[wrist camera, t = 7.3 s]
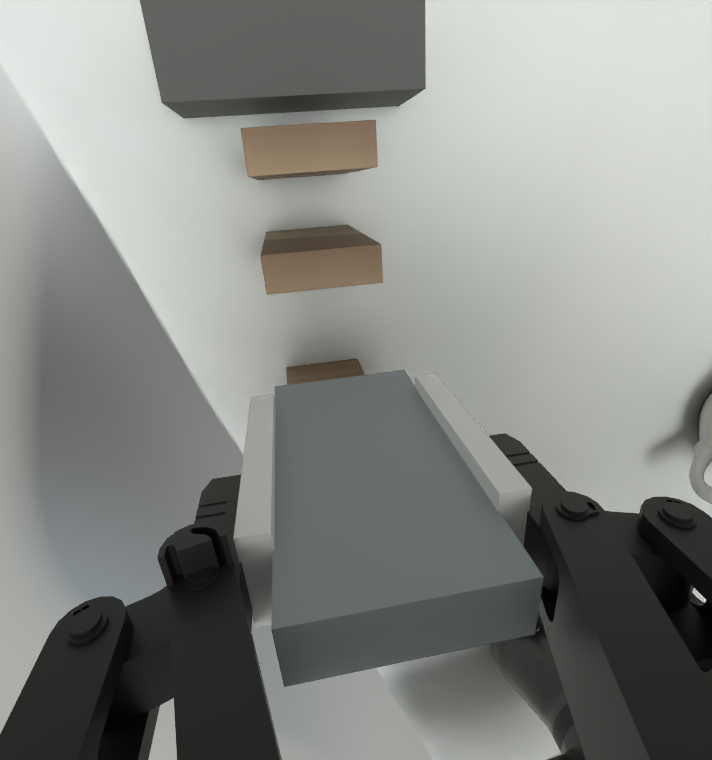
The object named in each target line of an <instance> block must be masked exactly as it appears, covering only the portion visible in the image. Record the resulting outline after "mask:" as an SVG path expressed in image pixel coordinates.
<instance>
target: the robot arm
mask: <svg viewBox="0 0 712 760" xmlns="http://www.w3.org/2000/svg"><path fill="white" fill-rule="evenodd" d="M415 388H416V390H417V391H418V393H419V394H420V396H421V397H422V399H423V400H424V402H425V403H426V405H427V406H428V408H429V409H430V411H431V412H432V414H433V415H434V417H435V418H436V420H437V421H438V423H439V424H440V426H441V427H442V429H443V430H444V432H445V433H446V435H447V436H448V438H449V439H450V441H451V442H452V444H453V445H454V447H455V448H456V450H457V451H458V453H459V454H460V456H461V457H462V459H463V460H464V462H465V463H466V465H467V466H468V468H469V469H470V471H471V472H472V474H473V475H474V477H475V478H476V480H477V481H478V483H479V484H480V485H481V487H482V488H483V490H484V491H485V493H486V494H487V496H488V497H489V499H490V500H491V502H492V503H493V505H494V506H495V508H496V509H497V511H498V512H500V513H501V514H502V516H503V517H504V519H505V520H506V522H507V523H508V525H509V526H510V528H511V529H512V531H513V532H514V534H515V535H516V537H517V538H518V540H519V541H520V542H521V544H522V545H523V547H524V548H525V550H526V551H527V553H528V554H529V556H530V557H531V559H532V560H533V562H534V563H535V565H536V566H537V568H538V569H539V571H540V572H541V574H542V575H543V577H544V578H543V585H542V591H541V598H540V604H539V611H538V617H537V624H536V631H535V634H534V635H529V636H524V637H520V638H515V639H510V640H505V641H501V642H496V643H491V644H492V651H493V654H494V656H495V658H496V660H497V662H498V664H499V667H500V669H501V671H502V673H503V674H504V676H505V678H506V679H507V680H508V682H509V683H510V684H511V685H512V686H513V687H514V689H515V690H516V691H517V692H518V693H519V694H520V696H521V697H522V698H523V699H524V700H525V701H526V703H527V704H528V705H529V706H530V707H531V708H532V710H533V711H534V712H535V713H536V714H537V715H538V716H539V718H540V719H541V720H542V721H543V722H544V723H545V725H546V726H547V727H548V728H549V730H550V732H551V733H552V735H553V737H554V739H555V741H556V743H557V745H558V747H559V749H560V751H561V753H562V755H559V756H557V757H554V758H551V759H548V760H712V518H711V517H710V516H709V515H707V514H706V513H705V512H704V511H702V510H700V509H699V508H697V507H695V506H694V505H692V504H690V503H687V502H684V501H682V500H679V499H675V498H669V497H652V498H650V499H647V500H645V501H644V503H643V504H642V506H641V509H640V513H639V514H637V513H622V512H610V511H604V510H603V508H602V507H601V506H600V505H599V504H598V503H597V502H595V501H594V500H592V499H590V498H589V497H587V496H584V495H581V494H578V493H576V492H567V491H566V490H565V489H564V488H563V487H562V486H561V485H560V484H559V483H558V482H557V481H556V479H555V478H554V477H553V476H552V475H551V474H550V473H549V472H548V471H547V470H546V469H545V468H544V467H543V466H542V465H541V463H538V460H537V459H536V458H535V457H534V456H533V455H532V454H530V452H529V451H528V450H527V449H526V447H525V446H524V445H523V444H522V443H521V442H520V441H518V440H516V439H514V438H512V437H511V436H509V435H507V434H505V433H504V434H498V435H491V436H488V435H487V434H486V432H485V431H484V430H483V429H482V428H481V426H480V425H479V424H478V423H477V422H476V420H475V419H474V418H473V417H472V416H471V414H470V413H469V412H468V411H467V410H466V408H465V407H464V406H463V405H462V404H461V402H460V401H459V400H458V399H457V398H456V396H455V395H454V394H453V393H452V392H451V390H450V389H449V388H448V387H447V386H446V384H445V383H444V382H443V381H442V380H441V378H440V377H439V376H438V375H437V374H436V373H432V374H424V375H416V376H415ZM275 415H276V407H275V401H274V395H265V396H257V397H251V400H250V408H249V416H248V424H247V433H246V441H245V449H244V457H243V465H242V473H241V475H236V476H229V477H223V478H217V479H212V480H211V482H210V483H209V484H208V485H207V486H206V488H205V489H204V490H203V491H202V493H201V498H200V501H199V508H198V510H197V514H196V520H195V522H194V524H192V525H189V526H187V527H184V528H182V529H180V530H178V531H177V532H175V533H174V534H173V535H171V536H170V537H169V538H167V540H166V541H165V542H164V543H163V545H162V546H161V547H160V550H159V554H158V561H159V564H160V567H161V570H162V572H163V575H164V578H165V581H166V584H167V586H166V587H164V588H163V589H162V590H160V591H158V592H157V593H155V594H153V595H151V596H149V597H147V598H144V599H142V600H140V601H137V602H135V603H133V604H130V605H128V606H126V607H125V606H124V604H123V602H122V600H120V599H117V598H115V597H98V598H95V599H92V600H89V601H86V602H84V603H82V604H80V605H79V606H77V607H75V608H74V609H72V610H71V611H69V612H68V613H67V614H66V615H65V616H64V617H63V618H62V619H61V620H59V621H58V623H57V624H56V626H55V627H54V629H53V630H52V632H51V633H50V635H49V637H48V639H47V641H46V643H45V645H44V647H43V649H42V651H41V653H40V655H39V657H38V659H37V661H36V663H35V665H34V667H33V669H32V671H31V673H30V675H29V677H28V679H27V681H26V683H25V685H24V687H23V689H22V691H21V694H20V696H19V697H18V700H17V701H16V704H15V706H14V708H13V710H12V712H11V714H10V716H9V718H8V720H7V722H6V724H5V726H4V728H3V730H2V732H1V734H0V760H148V758H149V754H150V749H151V744H152V739H153V735H154V730H155V726H156V721H157V716H158V712H159V707H160V705H161V704H163V703H165V702H167V701H169V700H170V699H172V698H174V708H175V727H176V744H177V745H176V746H177V760H282V759H281V755H280V750H279V747H278V742H277V738H276V734H275V729H274V725H273V721H272V717H271V713H270V709H269V704H268V700H267V696H266V692H265V688H264V683H263V679H262V675H261V671H260V666H259V663H258V658H257V654H256V650H255V645H254V642H253V638H252V634H251V628H252V617H253V620H254V625H255V628H259V627H264V626H270V625H272V558H273V551H274V542H275ZM693 588H695V589H696V590H697V591H698V592H699V593H700V594H701V595H702V596H703V597H704V598H705V599H706V603H704V602H702V601H701V600H699V599H698V598H697V597H696V596H695V595H694V594H693V593H692V591H693Z"/></svg>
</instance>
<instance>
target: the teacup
mask: <svg viewBox="0 0 712 760" xmlns="http://www.w3.org/2000/svg"><path fill="white" fill-rule="evenodd" d="M699 425H700V429H699V437H700V441H699V442H698V443H696V445H695V453H696V456H695V458H694V460H693V462H692V465H691V469H690V474H689V477H690V483H691V486H692V488H693V490H694V491H695V493H696V494H697V495H698V496H699V497H701V498H702V499H703V500H705V501H707V502H709V503H711V504H712V487H710V486H709V485H707V484H706V483H705V481H704V472H705V470H706V468H707V466H708V465H709V464H710V462H711V461H712V393H711V394H710V396H709V397H708V398H707V400H706V402H705V404H704V406H703V408H702V411H701V414H700V420H699Z"/></svg>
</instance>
